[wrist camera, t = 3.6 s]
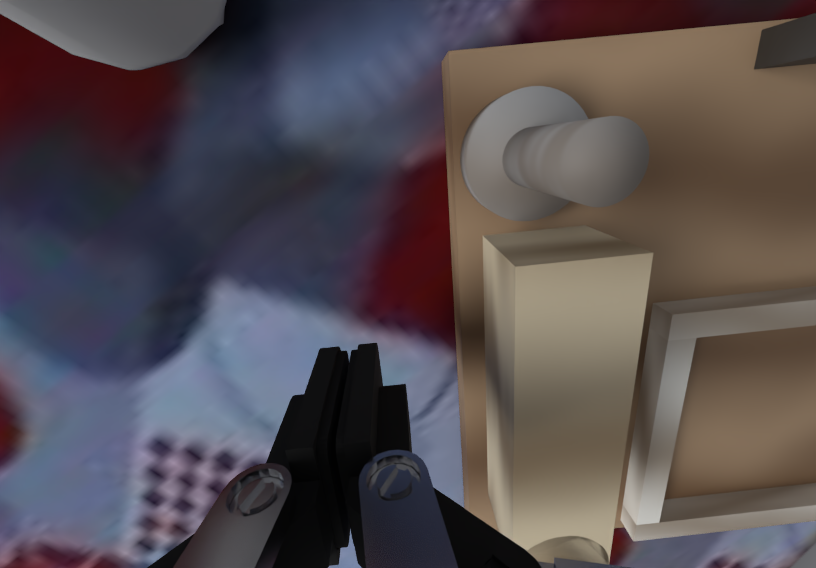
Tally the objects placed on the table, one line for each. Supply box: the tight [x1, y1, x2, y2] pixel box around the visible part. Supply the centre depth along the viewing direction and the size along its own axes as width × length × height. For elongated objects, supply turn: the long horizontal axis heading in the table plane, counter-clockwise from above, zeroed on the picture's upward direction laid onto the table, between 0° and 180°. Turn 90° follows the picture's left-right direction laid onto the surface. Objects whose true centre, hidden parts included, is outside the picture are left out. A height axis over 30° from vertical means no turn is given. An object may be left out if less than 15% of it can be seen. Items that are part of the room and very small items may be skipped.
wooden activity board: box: [442, 13, 816, 541], centre depth 12 cm, size 20×18×6 cm
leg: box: [483, 225, 653, 565], centre depth 11 cm, size 12×3×3 cm, turn 5°
